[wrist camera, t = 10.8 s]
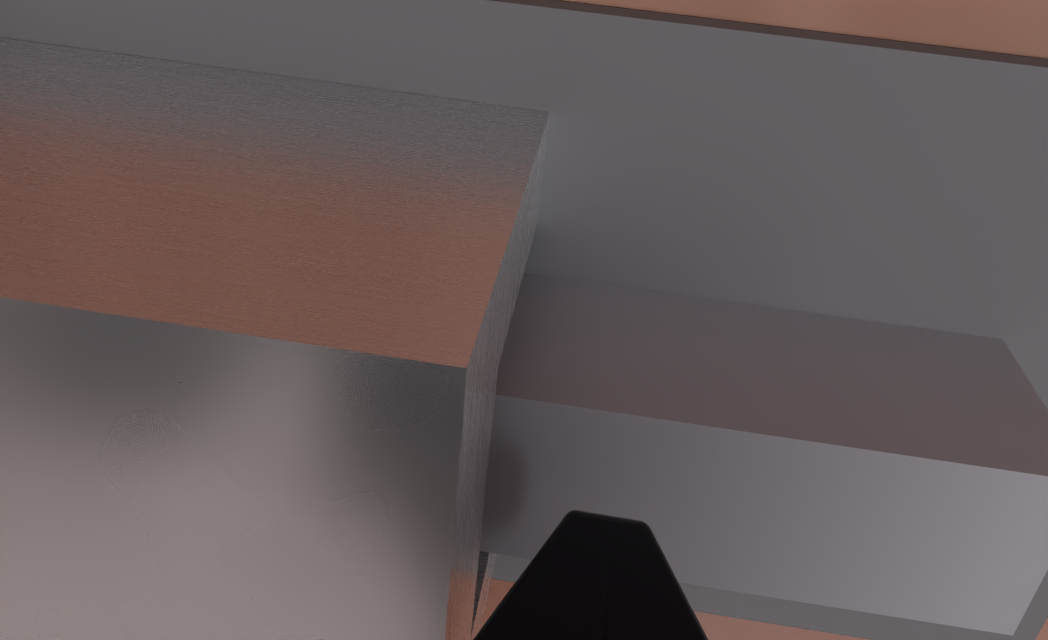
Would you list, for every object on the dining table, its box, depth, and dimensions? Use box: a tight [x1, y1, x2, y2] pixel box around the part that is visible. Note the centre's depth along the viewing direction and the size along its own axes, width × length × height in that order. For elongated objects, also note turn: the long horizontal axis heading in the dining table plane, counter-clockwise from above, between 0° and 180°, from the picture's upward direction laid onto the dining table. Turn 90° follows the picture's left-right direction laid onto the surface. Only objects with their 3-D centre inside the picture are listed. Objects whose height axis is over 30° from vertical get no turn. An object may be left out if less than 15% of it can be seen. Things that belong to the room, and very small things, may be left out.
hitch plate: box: [0, 0, 1048, 640], centre depth 8 cm, size 18×8×9 cm, turn 85°
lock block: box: [0, 37, 550, 640], centre depth 9 cm, size 7×6×6 cm
